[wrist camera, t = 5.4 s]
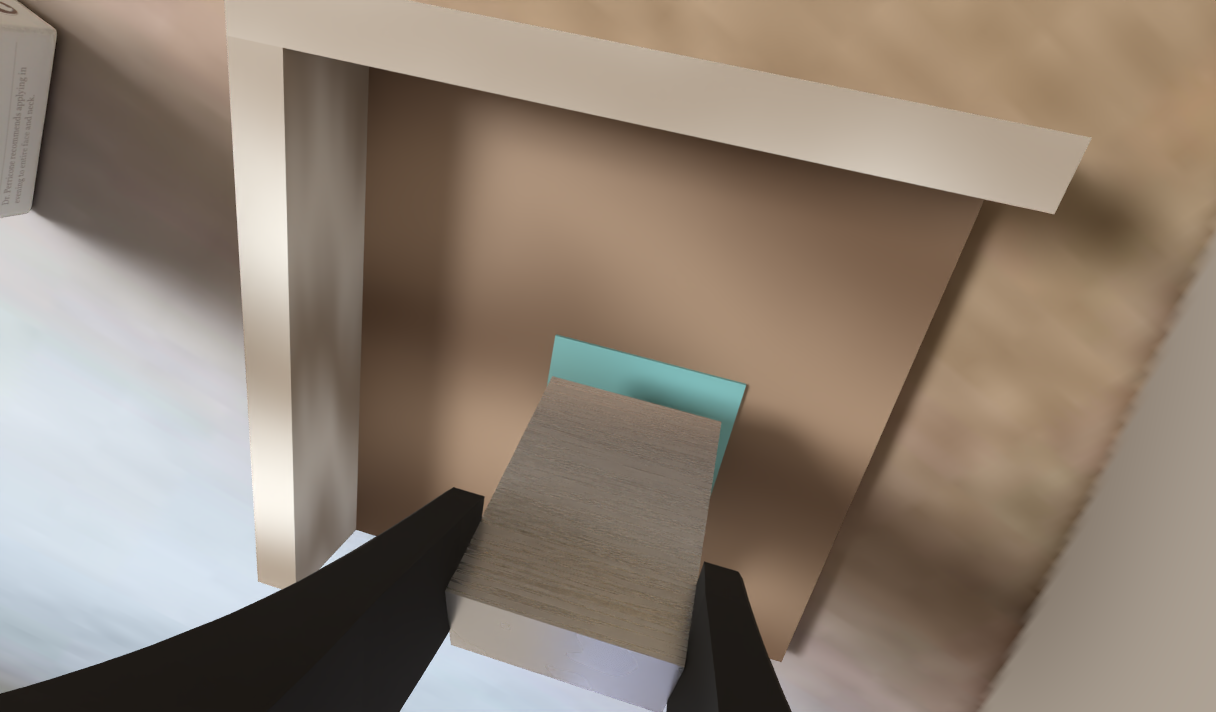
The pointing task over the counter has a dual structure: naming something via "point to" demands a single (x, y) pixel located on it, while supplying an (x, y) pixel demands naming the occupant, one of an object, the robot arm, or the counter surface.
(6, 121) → the skincare box
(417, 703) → the counter surface
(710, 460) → the aluminium bracket
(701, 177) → the corner arena
